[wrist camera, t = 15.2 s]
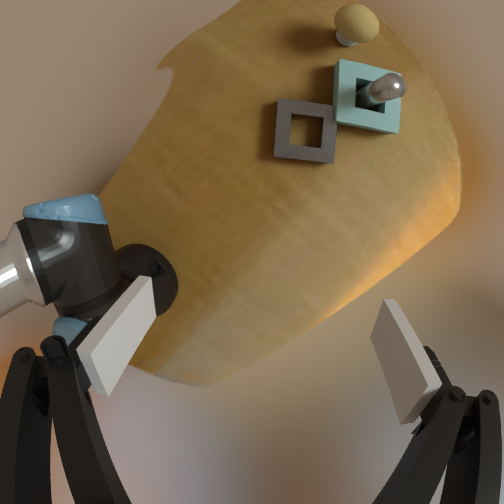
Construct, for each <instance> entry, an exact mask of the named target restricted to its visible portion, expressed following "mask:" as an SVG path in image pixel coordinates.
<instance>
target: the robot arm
mask: <svg viewBox="0 0 504 504" xmlns="http://www.w3.org/2000/svg"><path fill="white" fill-rule="evenodd" d="M22 215H23V217H24V219H22V220H20V221H17V222H15V223H13V225H12V227H11V229H10V232H9V234H8V237H7V238H6V239H5V240H4V241H1V242H0V318H1V317H2V316H4V315H6V314H8V313H9V312H11V311H13V310H15V309H16V308H18V307H20V306H22V305H24V304H25V303H27V302H33V303H35V304H37V305H40V306H42V307H44V306H46V305H48V304H50V303H52V302H53V303H54V305H55V308H56V310H57V312H58V315H59V318H57V319H56V320H55V322H54V325H53V335H52V336H49V337H47V338H46V339H44V340H43V341H42V343H41V345H40V349H41V351H42V353H43V355H44V357H42V356H36V354H35V352H34V350H33V349H32V348H30V347H22V348H20V349H19V350H18V351H16V352H15V354H14V355H13V358H12V361H11V364H10V367H9V370H8V373H7V376H6V380H5V383H4V387H3V390H2V394H1V398H0V504H52V498H51V482H50V443H51V427H52V418H53V423H54V428H55V434H56V439H57V444H58V448H59V452H60V456H61V460H62V464H63V468H64V471H65V474H66V478H67V481H68V484H69V487H70V490H71V493H72V496H73V499H74V502H75V504H132V503H131V501H130V500H129V498H128V496H127V494H126V491H125V490H124V487H123V485H122V483H121V481H120V479H119V477H118V474H117V472H116V470H115V467H114V465H113V462H112V460H111V458H110V455H109V452H108V450H107V447H106V444H105V442H104V439H103V436H102V433H101V430H100V427H99V424H98V421H97V418H96V415H95V411H94V407H93V404H92V400H91V397H90V393H89V391H88V389H89V387H90V386H91V385H92V387H93V389H94V391H95V392H96V393H99V394H101V395H104V396H107V397H109V395H110V393H111V392H112V390H113V388H114V387H115V385H116V383H117V381H118V380H119V378H120V376H121V374H122V373H123V371H124V369H125V367H126V366H127V364H128V362H129V361H130V359H131V357H132V356H133V354H134V352H135V351H136V349H137V347H138V346H139V344H140V342H141V341H142V339H143V337H144V336H145V334H146V332H147V331H148V329H149V328H150V326H151V324H152V323H153V321H154V319H155V318H156V316H159V315H161V314H163V313H164V312H166V311H167V310H168V309H169V308H170V306H171V305H172V303H173V302H174V300H175V298H176V295H177V292H178V281H177V277H176V274H175V271H174V269H173V267H172V266H171V264H170V263H169V261H168V260H167V259H166V258H165V257H164V256H163V255H162V254H161V253H159V252H158V251H157V250H155V249H153V248H151V247H149V246H146V245H142V244H131V245H127V246H125V247H123V248H121V249H120V250H119V251H117V252H116V253H115V252H114V248H113V244H112V240H111V236H110V232H109V228H108V221H107V220H106V218H105V214H104V211H103V207H102V203H101V201H100V199H99V198H98V197H97V196H96V195H94V194H83V195H77V196H72V197H66V198H61V199H56V200H51V201H46V202H41V203H38V204H33V205H29V206H26V207H24V209H23V214H22ZM370 338H371V340H372V343H373V346H374V348H375V351H376V353H377V356H378V359H379V361H380V364H381V367H382V370H383V373H384V375H385V378H386V381H387V384H388V387H389V390H390V393H391V396H392V399H393V402H394V405H395V408H396V412H397V415H398V418H399V421H400V424H407V423H413V422H414V421H415V420H416V419H417V418H418V416H419V415H420V416H421V419H422V421H421V422H420V424H419V425H418V426H417V427H416V428H415V430H414V431H413V432H412V434H413V433H414V436H413V437H412V439H411V442H410V443H409V445H408V447H407V449H406V451H405V453H404V455H403V456H402V458H401V460H400V462H399V463H398V465H397V467H396V468H395V470H394V472H393V473H392V475H391V477H390V478H389V480H388V481H387V483H386V485H385V486H384V487H383V489H382V490H381V492H380V493H379V495H378V496H377V498H376V499H375V501H374V502H373V503H372V504H429V503H430V501H431V499H432V496H433V495H434V493H435V491H436V489H437V486H438V484H439V482H440V480H441V477H442V475H443V473H444V470H445V468H446V465H447V469H446V475H445V481H444V486H443V491H442V495H441V500H440V504H499V497H500V487H501V471H502V439H501V423H500V412H499V403H498V399H497V396H496V395H495V394H494V393H493V392H492V391H490V390H483V391H481V392H480V394H479V395H478V396H477V397H472V396H466V393H465V392H464V391H463V390H462V389H461V388H459V387H457V386H452V385H451V383H450V381H449V379H448V377H447V375H446V373H445V371H444V369H443V367H441V364H440V362H439V361H438V359H437V357H436V355H435V353H434V352H433V351H432V350H431V349H430V348H429V347H428V346H422V344H421V343H420V341H419V339H418V337H417V336H416V334H415V332H414V330H413V329H412V327H411V325H410V324H409V322H408V320H407V319H406V317H405V315H404V314H403V312H402V310H401V309H400V307H399V306H398V304H397V302H396V301H395V300H391V299H384V300H383V302H382V306H381V308H380V311H379V314H378V317H377V320H376V323H375V325H374V328H373V331H372V333H371V336H370Z"/></svg>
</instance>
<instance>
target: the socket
mask: <svg viewBox="0 0 504 504" xmlns="http://www.w3.org/2000/svg"><path fill="white" fill-rule="evenodd" d="M387 73H396V72H392V71H389V70H385V69H382V68H378V67H374V66H370V65H366V64H362V63H358V62H353V61H348V60H343V59H339V60H338V62H337V63H336V64H335V65H334V85H333V102H332V105H333V106H335V117H334V122H337V124H342V125H348V126H354V127H359V128H364V129H369V130H373V131H378V132H382V133H387V134H399V122H400V105H401V97H399V98H396V99H392V100H389V101H386V102H383V103H380V104H377V105H376V112H375V111H370V110H366V109H361V108H356V107H355V94H356V84H359V85H363V86H366V85H368V84H370V83H371V82H373V81H375V80H377V79H378V78H380V77H382V76H384V75H385V74H387ZM396 74H398V75H399V76H401V74H399V73H396Z"/></svg>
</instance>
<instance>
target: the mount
mask: <svg viewBox="0 0 504 504" xmlns="http://www.w3.org/2000/svg"><path fill="white" fill-rule="evenodd" d="M291 115H296V116H305V117H313V118H320V119H321V127H320V139H319V148H315V147H307V146H299V145H290V144H289V138H290V126H291ZM334 117H335V106H333V105H327V104H321V103H313V102H306V101H297V100H288V99H278V106H277V119H276V133H275V145H274V157H280V158H290V159H300V160H308V161H316V162H324V163H331V164H333V163H334V154H335V144H336V133H337V122H334Z"/></svg>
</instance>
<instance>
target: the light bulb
mask: <svg viewBox="0 0 504 504" xmlns="http://www.w3.org/2000/svg"><path fill="white" fill-rule="evenodd" d="M334 21H335V26H336V28H337V32H336V38H337V40H338V41H339V42H340V43H341V44H343V45H345V46H354V45H356V44H357V43H364V42H368V41H370V40H372V39H373V38H374V37H375V36H376V35H377V33H378V31H379V21H378V19H377V17H376V16H375V15H374V13H372V12H371V11H370V10H369V9H368V8H366V7H364V6H362V5H359V4H349V5H346V6H343V7H342V8H340V9H339V10H338V11H337V13H336V15H335V19H334Z"/></svg>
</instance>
